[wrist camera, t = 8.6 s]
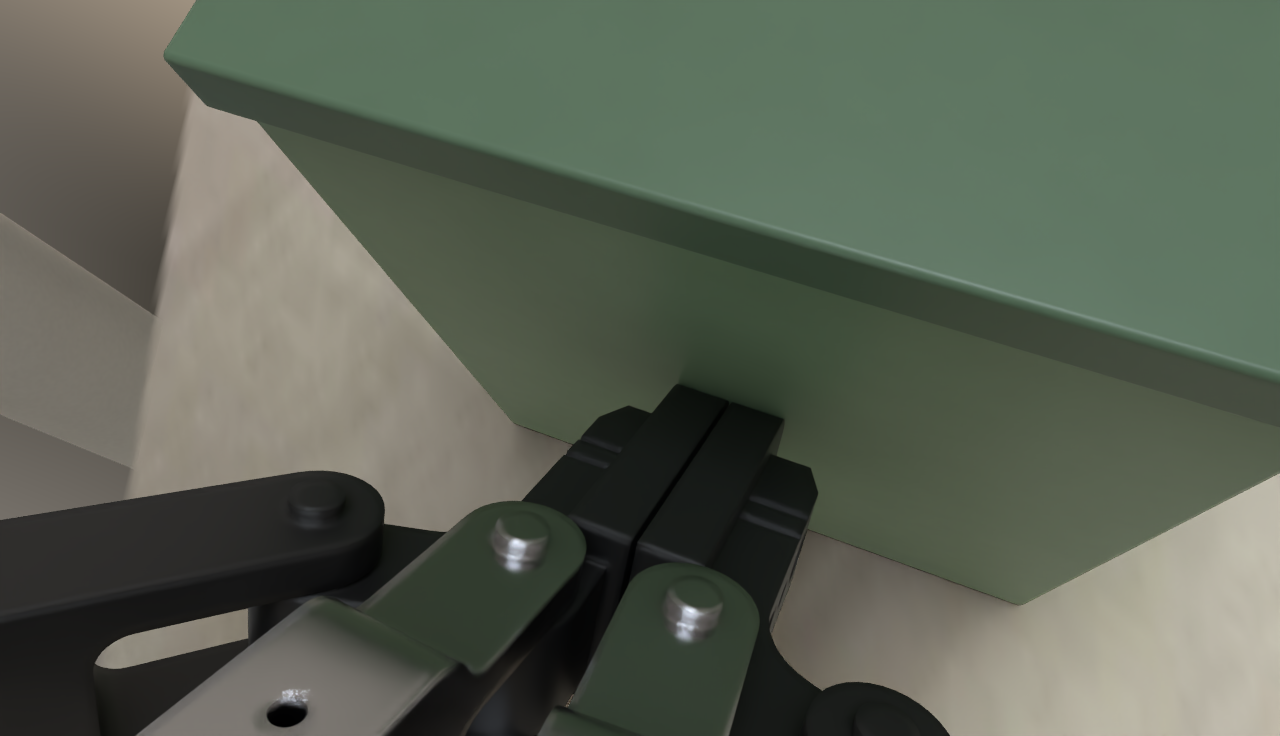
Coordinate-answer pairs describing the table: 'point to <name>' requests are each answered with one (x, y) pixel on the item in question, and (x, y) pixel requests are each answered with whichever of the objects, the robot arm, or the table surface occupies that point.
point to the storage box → (828, 235)
